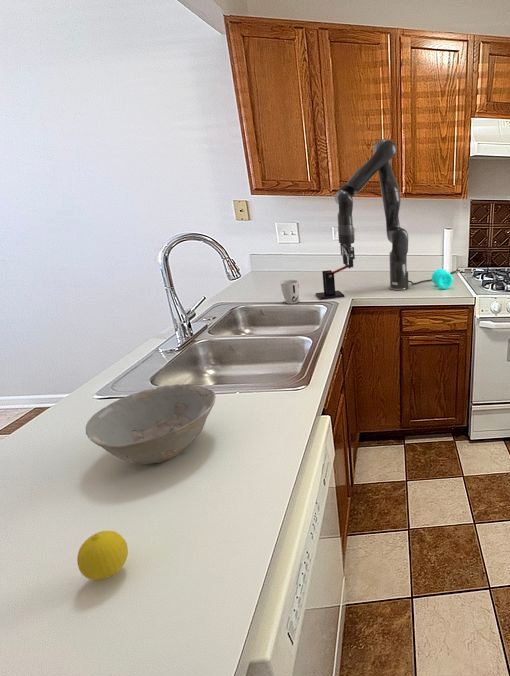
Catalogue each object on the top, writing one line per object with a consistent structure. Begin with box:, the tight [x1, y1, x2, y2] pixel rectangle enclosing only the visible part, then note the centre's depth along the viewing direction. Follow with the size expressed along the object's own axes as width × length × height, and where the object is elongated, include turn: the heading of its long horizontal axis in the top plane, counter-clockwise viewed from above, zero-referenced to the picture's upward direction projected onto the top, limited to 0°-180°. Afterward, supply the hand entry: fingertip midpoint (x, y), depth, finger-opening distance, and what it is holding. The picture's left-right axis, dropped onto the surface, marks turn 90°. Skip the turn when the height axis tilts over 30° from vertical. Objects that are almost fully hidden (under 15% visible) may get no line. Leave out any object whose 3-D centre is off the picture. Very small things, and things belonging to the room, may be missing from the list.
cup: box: [280, 279, 300, 305], centre depth 189 cm, size 8×8×10 cm
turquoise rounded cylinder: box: [431, 268, 454, 290], centre depth 223 cm, size 10×10×10 cm
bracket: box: [315, 269, 345, 301], centre depth 199 cm, size 12×9×13 cm
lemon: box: [76, 530, 129, 581], centre depth 59 cm, size 6×6×8 cm
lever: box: [332, 263, 351, 275], centre depth 200 cm, size 13×5×2 cm, turn 122°
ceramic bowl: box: [85, 383, 216, 465], centre depth 86 cm, size 22×23×10 cm
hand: (348, 265), depth 202 cm, fingers open, 8 cm apart
